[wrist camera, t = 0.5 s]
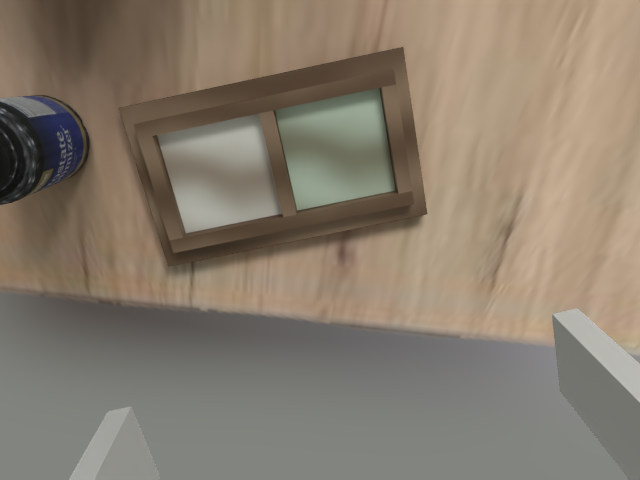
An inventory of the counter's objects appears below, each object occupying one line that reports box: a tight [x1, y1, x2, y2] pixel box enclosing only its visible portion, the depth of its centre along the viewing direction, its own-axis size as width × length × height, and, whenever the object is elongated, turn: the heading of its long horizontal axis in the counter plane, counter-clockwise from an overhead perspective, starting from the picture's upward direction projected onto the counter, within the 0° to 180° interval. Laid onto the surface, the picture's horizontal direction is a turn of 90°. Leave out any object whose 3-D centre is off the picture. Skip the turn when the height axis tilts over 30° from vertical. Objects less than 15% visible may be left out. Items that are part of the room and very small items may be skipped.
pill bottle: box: [0, 95, 89, 205], centre depth 33 cm, size 6×6×11 cm
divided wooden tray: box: [119, 47, 427, 266], centre depth 38 cm, size 12×20×2 cm, turn 101°
